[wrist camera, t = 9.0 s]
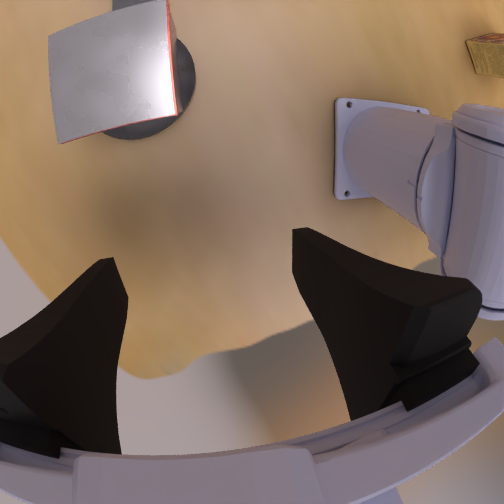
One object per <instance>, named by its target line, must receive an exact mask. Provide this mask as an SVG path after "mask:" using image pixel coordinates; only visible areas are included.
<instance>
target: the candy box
mask: <svg viewBox="0 0 504 504" xmlns="http://www.w3.org/2000/svg"><path fill="white" fill-rule="evenodd" d="M466 44H467V47H468V49H469V52H470V55H471V58H472V61H473V64H474V67H475V71H476V73H477V74H483V75H489V76H494V77H500V78H504V34H502V33H493V34H489V35H485V36H481V37H478V38H474V39H471V40H467V41H466Z"/></svg>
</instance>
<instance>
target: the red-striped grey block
mask: <svg viewBox="0 0 504 504" xmlns="http://www.w3.org/2000/svg"><path fill="white" fill-rule="evenodd" d="M48 54H49V76H50V89H51V99H52V108H53V115H54V122H55V129H56V135H57V140H58V144H64V143H67V142H70V141H73V140H76V139H79V138H82V137H85V136H89V135H92V134H95V133H99V132H103V131H106V130H110V129H114V128H118V127H122V126H126V125H130V124H134V123H139V122H143V121H148V120H153V119H158V118H163V117H169V116H175V115H178V113H180V112H182V111H183V106H182V97H181V86H180V76H179V64H178V51H177V37H176V28H175V25H174V22H173V19H172V16H171V13H170V5H169V1H167V0H156V1H151V2H146V3H142V4H138V5H133V6H130V7H126V8H122V9H119V10H115V11H112V12H108V13H105V14H102V15H99V16H96V17H93V18H91V19H88V20H85V21H82V22H80V23H77V24H75V25H72V26H70V27H67V28H65V29H63V30H60V31H58V32H56V33H54V34H52V35H50V36H48Z"/></svg>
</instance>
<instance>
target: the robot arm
mask: <svg viewBox="0 0 504 504" xmlns="http://www.w3.org/2000/svg"><path fill="white" fill-rule="evenodd" d="M347 102H349V103H350V106H349V108H348V107H347V106H346V103H347ZM417 111H418V112H417ZM335 129H336V144H335V187H334V195H335V197H336V198H337V199H339V200H346V199H357V198H368V197H375V198H376V199H378V200H379V201H381V202H382V203H384V204H385V205H387V206H388V207H389V208H391V209H392V210H394V211H395V212H397V213H398V214H399V215H401V216H402V217H403V218H405V219H406V220H408V221H409V222H410V223H412V224H413V225H414V226H416V227H417V228H418V229H420V230H421V231H422V232H424V233H425V234H426V235H427V236H428V240H429V250H430V251H432V252H433V253H434V254H435V255H436V256H437V257H439V258H440V259H441V261H440V266H439V275H434V274H429V273H423V272H418V271H414V270H410V269H406V268H402V267H399V266H395V265H392V264H389V263H386V262H383V261H380V260H377V259H375V258H372V257H369V256H367V255H365V254H362V253H360V252H358V251H356V250H353V249H351V248H349V247H347V246H345V245H343V244H341V243H339V242H337V241H335V240H333V239H331V238H329V237H327V236H325V235H323V234H321V233H319V232H317V231H315V230H313V229H310V228H308V227H306V228H299V229H292V273H293V276H294V279H295V281H296V284H297V287H298V289H299V292H300V294H301V296H302V298H303V299H304V301H305V303H306V305H307V307H308V309H309V311H310V312H311V314H312V316H313V318H314V320H315V322H316V324H317V325H318V327H319V329H320V331H321V333H322V335H323V337H324V339H325V342H326V344H327V347H328V349H329V352H330V355H331V357H332V360H333V363H334V366H335V369H336V372H337V374H338V377H339V380H340V384H341V387H342V390H343V393H344V397H345V400H346V404H347V407H348V412H349V415H350V419H351V421H350V422H347V423H344V424H341V425H339V426H335V427H332V428H329V429H326V430H322V431H319V432H316V433H312V434H309V435H305V436H301V437H297V438H293V439H289V440H285V441H281V442H275V443H271V444H266V445H261V446H255V447H250V448H243V449H236V450H230V451H222V452H213V453H202V454H188V455H160V456H159V455H158V456H149V455H147V456H146V455H122V453H121V447H120V441H119V434H118V424H117V411H116V376H117V366H118V359H119V354H120V349H121V344H122V339H123V334H124V329H125V324H126V319H127V310H128V295H127V293H126V290H125V288H124V285H123V282H122V280H121V277H120V275H119V272H118V269H117V266H116V264H115V261H114V258H113V257H111V258H105V259H100V260H99V261H97V262H96V263H94V264H93V265H92V266H91V267H90V268H88V269H87V270H86V271H85V272H84V273H83V274H82V275H81V276H80V277H79V278H77V279H76V280H75V281H74V282H73V283H72V284H71V285H70V286H69V287H68V288H67V289H66V290H65V291H63V292H62V293H61V294H60V295H59V296H58V297H57V298H56V299H55V300H54V301H52V302H51V303H50V304H49V305H48V306H47V307H46V308H44V309H43V310H42V311H40V312H39V313H38V314H36V315H35V316H34V317H32V318H31V319H30V320H28V321H27V322H25V323H24V324H22V325H21V326H20V327H18V328H17V329H15V330H13V331H12V332H10V333H9V334H7V335H5V336H3V337H2V338H0V491H2V492H4V493H6V494H8V495H10V496H12V497H14V498H16V499H18V500H21V501H23V502H25V503H27V504H403V503H402V500H401V498H400V496H399V493H398V491H397V488H396V487H397V486H399V485H401V484H403V483H405V482H407V481H408V480H410V479H412V478H414V477H416V476H417V475H419V474H421V473H422V472H424V471H426V470H428V469H429V468H431V467H433V466H434V465H436V464H437V463H439V462H440V461H442V460H443V459H445V458H446V457H448V456H449V455H451V454H452V453H454V452H455V451H456V450H458V449H459V448H461V447H462V446H463V445H465V444H466V443H467V442H469V441H470V440H471V439H472V438H474V437H475V436H476V435H477V434H479V433H480V432H481V431H482V430H483V429H485V428H486V427H487V426H488V425H489V424H491V423H492V422H493V421H494V420H495V419H496V418H497V417H498V416H499V415H500V414H502V413H503V412H504V346H503V345H502V343H501V342H500V341H499V340H498V339H497V338H496V337H494V338H493V339H491V340H490V341H488V342H487V343H486V344H484V345H482V346H481V347H480V348H478V349H477V350H476V351H475V352H474V353H473V354H472V352H471V351H470V350H469V347H470V346H471V341H470V340H469V339H468V337H467V335H468V333H469V331H470V329H471V327H472V325H473V323H474V322H475V320H476V318H477V317H479V318H483V319H487V320H504V109H501V108H496V107H491V106H486V105H479V104H463V105H461V106H460V107H459V108H458V110H455V111H454V112H453V113H452V120H449V119H445V118H441V117H436V116H432V115H430V112H429V110H428V109H426V108H421V107H415V106H410V105H403V104H397V103H390V102H382V101H373V100H364V99H352V98H338V99H337V100H336V101H335ZM346 191H348V193H347V195H345V192H346Z"/></svg>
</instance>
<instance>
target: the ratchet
mask: <svg viewBox="0 0 504 504" xmlns="http://www.w3.org/2000/svg"><path fill="white" fill-rule="evenodd" d="M151 1H156V0H113V11H115V10H119V9H122V8H126V7H130V6H133V5H138V4H142V3H146V2H151ZM177 51H178V64H179V76H180V86H181V97H182V106H183V111H182V112H180V113H178V115H175V116H169V117H163V118H158V119H153V120H148V121H143V122H139V123H134V124H130V125H126V126H122V127H118V128H114V129H110V130H106V131H103V133H105V134H107V135H109V136H111V137H114V138H118V139H126V140H133V139H141V138H145V137H149V136H151V135H154V134H156V133H158V132H160V131H162V130H164V129H165V128H166V127H168V126H169V125H171V124H172V123H173V122H175V121H176V120H177V119H178V118H179V117H180V116H181V115H182V114H183V113H184V111H185V110H186V108H187V107H188V105H189V103H190V102H191V99H192V97H193V94H194V90H195V84H196V75H195V68H194V63H193V60H192V57H191V55H190V53H189V51H188V50H187V48H186V47H185V45H184V44H183V43H182V42H181V41H180V40H178V39H177Z"/></svg>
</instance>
